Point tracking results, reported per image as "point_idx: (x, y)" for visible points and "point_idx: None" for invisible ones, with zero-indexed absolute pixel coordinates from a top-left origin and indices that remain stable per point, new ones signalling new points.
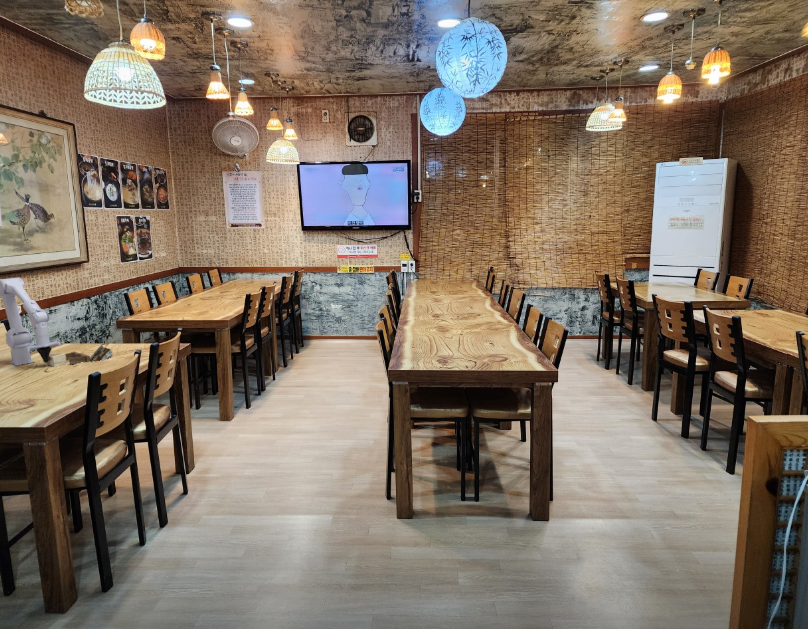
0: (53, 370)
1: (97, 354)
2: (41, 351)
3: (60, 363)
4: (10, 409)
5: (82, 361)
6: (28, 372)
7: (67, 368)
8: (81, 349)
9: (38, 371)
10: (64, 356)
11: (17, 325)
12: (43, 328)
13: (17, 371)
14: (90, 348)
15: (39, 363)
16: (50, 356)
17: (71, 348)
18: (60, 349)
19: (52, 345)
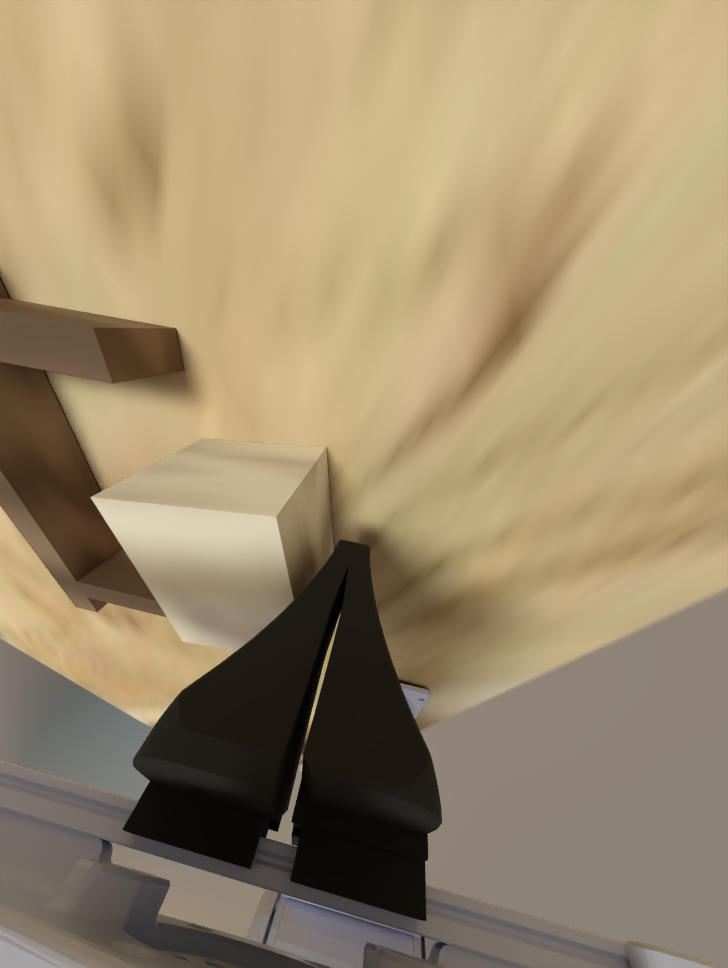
0: (443, 251)
1: None
2: (415, 756)
3: (251, 450)
4: None
5: (27, 303)
6: (590, 497)
7: (265, 116)
8: (86, 645)
9: (534, 429)
10: (136, 482)
11: None
12: None
13: (557, 608)
14: (43, 626)
15: None
16: (282, 582)
17: (128, 682)
18: (169, 702)
19: (62, 827)
